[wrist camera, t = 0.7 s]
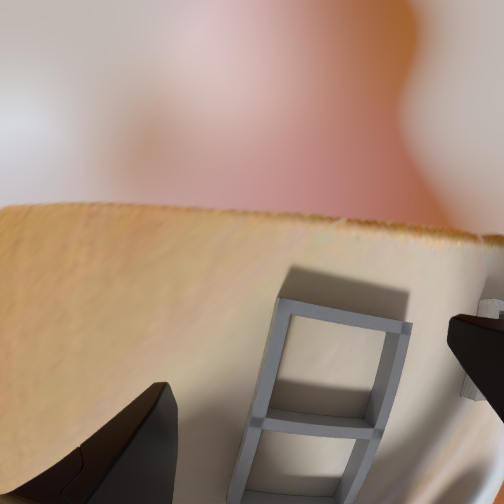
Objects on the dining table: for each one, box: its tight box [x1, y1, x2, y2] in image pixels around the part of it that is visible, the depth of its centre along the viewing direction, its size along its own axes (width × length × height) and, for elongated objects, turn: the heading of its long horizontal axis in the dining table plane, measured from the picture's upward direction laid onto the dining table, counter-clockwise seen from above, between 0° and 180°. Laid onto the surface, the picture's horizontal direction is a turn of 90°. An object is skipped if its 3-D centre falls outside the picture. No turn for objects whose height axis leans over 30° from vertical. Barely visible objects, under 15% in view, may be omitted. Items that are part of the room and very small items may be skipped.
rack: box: [226, 297, 413, 504], centre depth 21 cm, size 19×11×2 cm, turn 167°
